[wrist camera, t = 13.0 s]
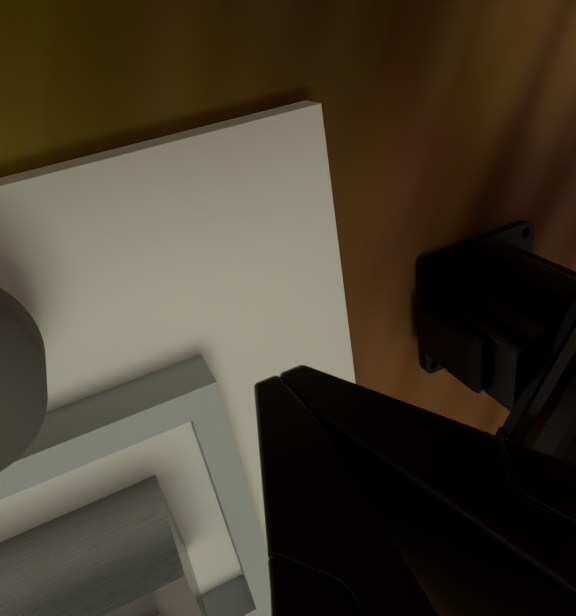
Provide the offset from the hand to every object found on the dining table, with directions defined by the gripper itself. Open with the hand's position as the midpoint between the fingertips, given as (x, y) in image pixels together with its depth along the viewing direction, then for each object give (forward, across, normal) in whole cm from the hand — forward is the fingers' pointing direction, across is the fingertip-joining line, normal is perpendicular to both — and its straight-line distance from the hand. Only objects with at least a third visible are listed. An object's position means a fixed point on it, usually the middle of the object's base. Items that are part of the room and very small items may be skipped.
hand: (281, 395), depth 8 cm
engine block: (+11, +7, +13) cm, 18 cm away
